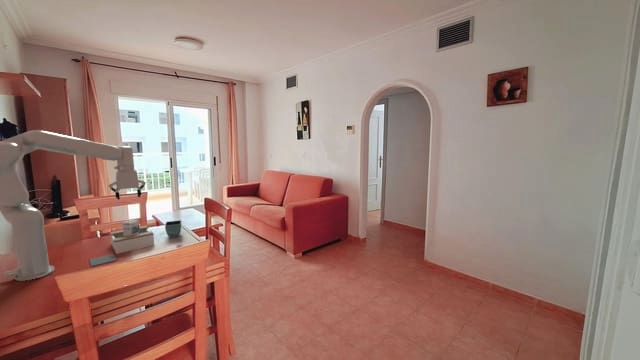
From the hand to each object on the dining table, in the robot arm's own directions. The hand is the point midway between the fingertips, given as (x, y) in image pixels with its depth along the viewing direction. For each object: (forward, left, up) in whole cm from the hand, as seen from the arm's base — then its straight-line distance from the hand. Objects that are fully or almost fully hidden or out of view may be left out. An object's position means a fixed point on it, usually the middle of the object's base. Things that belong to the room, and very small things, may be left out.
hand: (129, 198), depth 152 cm
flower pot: (+22, -1, -28) cm, 36 cm away
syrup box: (0, 0, -28) cm, 28 cm away
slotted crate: (0, 0, -28) cm, 28 cm away
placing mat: (-15, -14, -28) cm, 35 cm away
